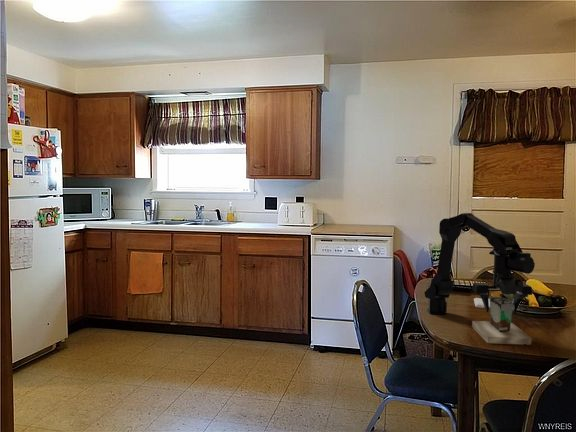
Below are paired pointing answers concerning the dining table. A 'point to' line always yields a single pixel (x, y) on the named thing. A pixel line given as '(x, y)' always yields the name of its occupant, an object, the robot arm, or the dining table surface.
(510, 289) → the robot arm
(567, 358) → the dining table surface
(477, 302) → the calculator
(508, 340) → the pale grey slab
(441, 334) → the dining table surface
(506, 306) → the food container
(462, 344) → the dining table surface
